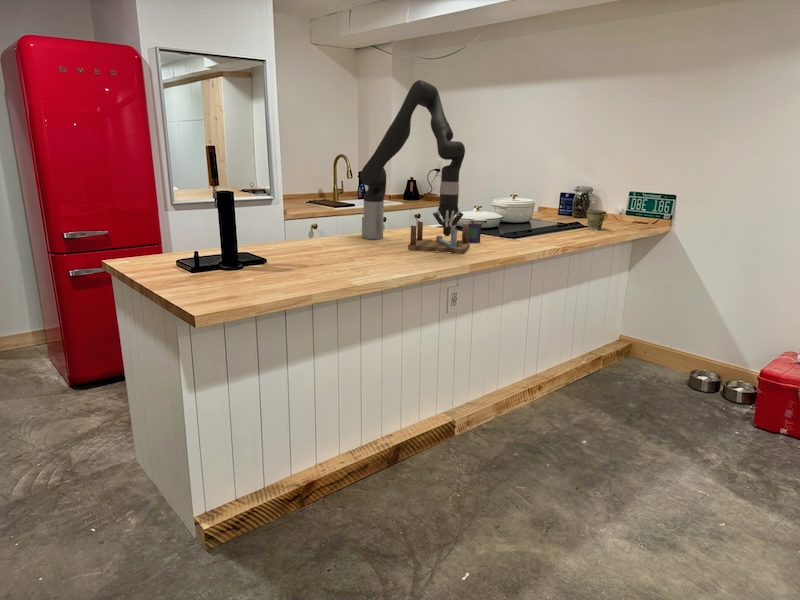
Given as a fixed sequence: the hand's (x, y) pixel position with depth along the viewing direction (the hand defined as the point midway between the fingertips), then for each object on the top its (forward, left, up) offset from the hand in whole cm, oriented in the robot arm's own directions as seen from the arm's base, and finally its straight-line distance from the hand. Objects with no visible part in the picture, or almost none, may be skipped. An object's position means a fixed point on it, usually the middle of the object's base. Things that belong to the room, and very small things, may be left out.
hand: (446, 235), depth 230 cm
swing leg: (-2, +9, -5) cm, 10 cm away
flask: (+6, +29, -8) cm, 31 cm away
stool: (-5, +10, -8) cm, 14 cm away
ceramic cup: (+65, +91, -8) cm, 113 cm away
